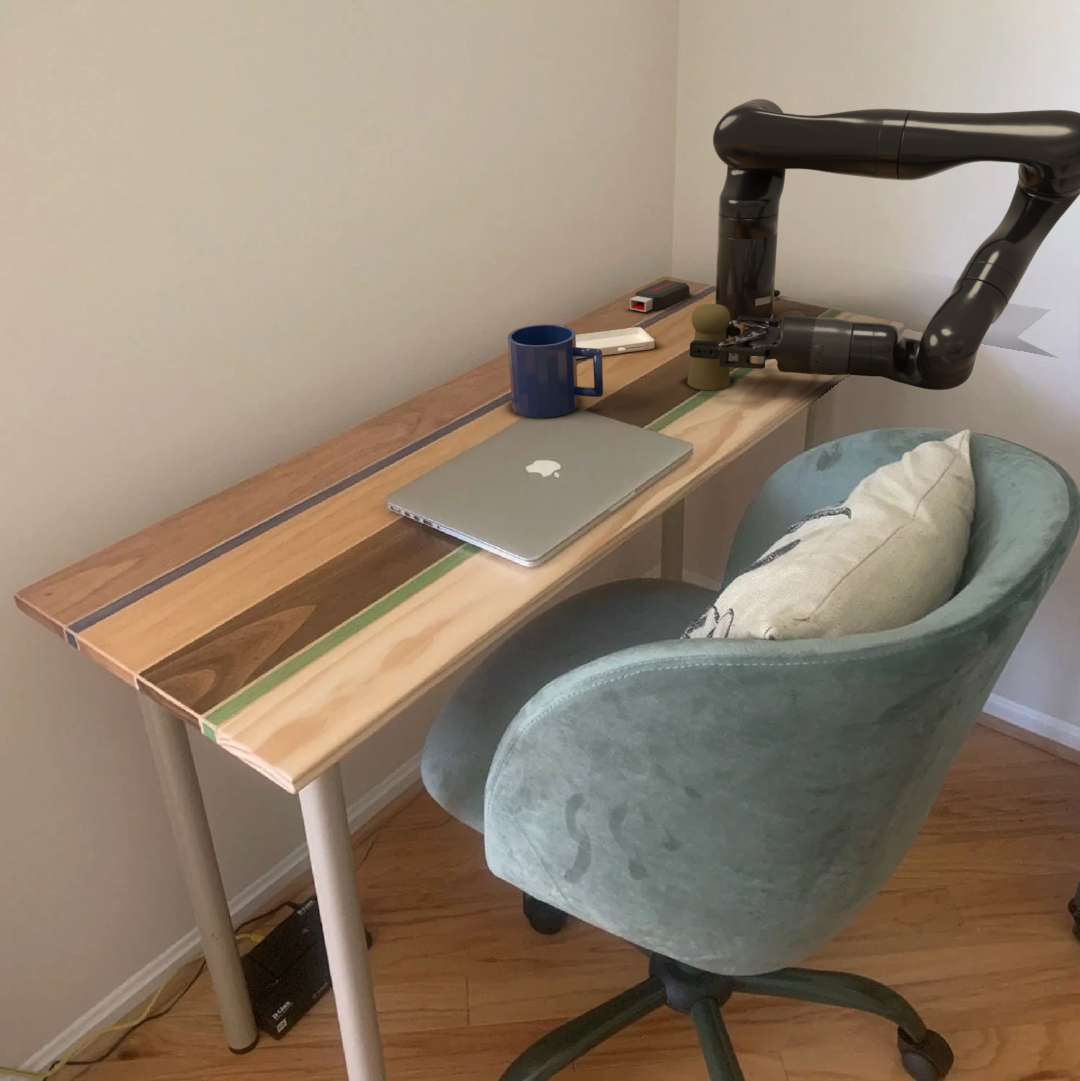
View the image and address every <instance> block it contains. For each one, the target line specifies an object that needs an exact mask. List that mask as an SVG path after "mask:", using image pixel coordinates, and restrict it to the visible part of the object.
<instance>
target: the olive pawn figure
mask: <svg viewBox="0 0 1080 1081" xmlns="http://www.w3.org/2000/svg"><path fill="white" fill-rule="evenodd" d="M729 322H730V313H729V311H728V309H727V308H726V307H724V306H722V305H719V304H715V303H706V304H705V303H704V304H700V305H698V306H697V307H695V308H694V310H693V311H692V314H691V324H692V327H693V328H694V330H695V332H694V337H693V340H698V341H714V342H723V341H728V339H726V329H727V327H728V325H729ZM730 372H731V371H730V367H721V366H719V362H718V361H717V359H708V358H693V357H691V356H690V363H689V369H688V376H687V381H686V383H687V385H688V386H689V387H690V388H693V389H697V390H702V391H717V390H722V389H725V388H728V387H729V386H730V385H731V373H730Z"/></svg>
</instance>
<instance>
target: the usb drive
mask: <svg viewBox="0 0 1080 1081" xmlns="http://www.w3.org/2000/svg"><path fill="white" fill-rule="evenodd" d="M690 290H691V289H690V286H689V284H687V283H686V282H681V281H675V280H671V279H664V280H661V281H659V282H657V283H654V284H652V285H650V286H648V287H645V288H643V289H640V290H638V291H636V292H635V294H634V297H631V298H629V310H632V311H633V310H634V311H639V312H643V313H647V312H649V311H660V310H663V309H665V308H667V307H669V306H671V305H674V304H676V303H678V302H680V301H683V300H686V299H687V298H689V297H691V296H690V293H691V292H690Z"/></svg>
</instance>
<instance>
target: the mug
mask: <svg viewBox="0 0 1080 1081" xmlns="http://www.w3.org/2000/svg"><path fill="white" fill-rule="evenodd" d="M576 335H577V333H576V331H575V330H574V329H573V328H571V327H568V326H566V325H561V324H553V323H552V324H551V323H548V324H547V323H545V324H544V323H543V324H542V323H541V324H532V325H525V326H522V327H519V328H517V329H514V330H512V331H511V332H510V333H508V335H507V350H508V364H509V379H510V380H509V381H510V393H511V405H512V410H513V411H514V412H515V413H516V414H518V415H520V416H523V417H526V418H533V419H549V418H550V419H551V418H557V417H561V416H565V415H568V414H570V413H572V412H574V411H575V410H576V409H577V408H578V405H579V396H580V397H592V398H593V397H594V398H601V397H602V396H603V395H604V375H603V373H604V370H603V368H604V367H603V355H602V351H601V350H600V349H595V348H581V347H576ZM576 356H577V357H587V358H590V359H591V358H592V362H593V364H592V367H593V369H592V370H593V386H592V387H590V386H579V385H578V364H577V363H578V362H577V360H578V359H576Z"/></svg>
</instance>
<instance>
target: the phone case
mask: <svg viewBox="0 0 1080 1081" xmlns="http://www.w3.org/2000/svg"><path fill="white" fill-rule="evenodd" d="M655 342H656V341H655V339H654V338H653V337H652V336H651V335H650V334H649V333H648V332H647V331H646V330H644V328H642V327H640V326H638V327H637V326H636V327H635V326H634V327H628V328H619V329H612V330H604V331H595V332H589V333H580V334H576V347H581V348H595V349H600V350H601V351H602V356H609V355H617V354H624V353H630V352H631V353H632V352H639V351H640V352H641V351H647V350H653V349H655ZM586 358H588V357H577V356H576V359H577V360H579V359H586Z"/></svg>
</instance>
